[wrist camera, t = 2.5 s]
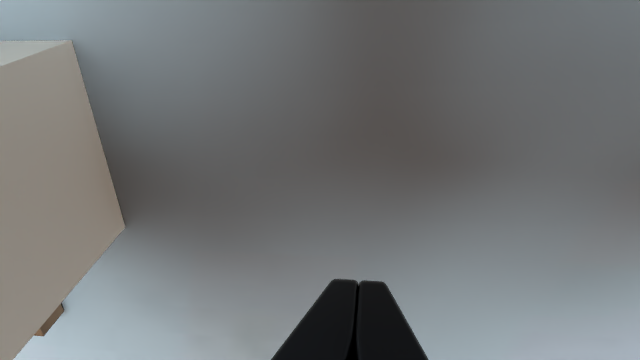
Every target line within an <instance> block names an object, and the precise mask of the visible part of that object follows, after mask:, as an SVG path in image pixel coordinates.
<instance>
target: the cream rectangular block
mask: <svg viewBox="0 0 640 360" xmlns="http://www.w3.org/2000/svg"><path fill="white" fill-rule="evenodd" d="M124 228H125V224H124V221H123V217H122V214H121V210H120V207H119V203H118V200H117V196H116V193H115V189H114V186H113V182H112V179H111V175H110V172H109V168H108V165H107V161H106V158H105V154H104V151H103V148H102V144H101V141H100V137H99V134H98V130H97V127H96V123H95V120H94V116H93V113H92V109H91V106H90V102H89V99H88V95H87V92H86V88H85V85H84V81H83V78H82V74H81V71H80V68H79V64H78V61H77V57H76V54H75V50H74V47H73V43H72V40H39V41H0V360H13V359H14V358H15V357H16V356H17V354H18V353H19V352H20V351H21V350H22V348H23V347H24V346H25V345H26V344H27V343H28V341H29V340H30V339H31V338H32V337H33V336H34V334H35V333H36V332H37V331H38V330H39V328H40V327H41V326H42V325H43V324H44V323H45V321H46V320H47V319H48V318H49V317H50V315H51V314H52V313H53V312H54V311H55V310H56V308H57V307H58V306H59V305H60V304H61V303H62V301H63V300H64V299H65V298H66V297H67V295H68V294H69V293H70V292H71V291H72V290H73V288H74V287H75V286H76V285H77V284H78V283H79V281H80V280H81V279H82V278H83V277H84V275H85V274H86V273H87V272H88V271H89V270H90V268H91V267H92V266H93V265H94V264H95V263H96V261H97V260H98V259H99V258H100V257H101V255H102V254H103V253H104V252H105V251H106V250H107V248H108V247H109V246H110V245H111V244H112V243H113V241H114V240H115V239H116V238H117V237H118V235H119V234H120V233H121V232H122V231H123V230H124Z"/></svg>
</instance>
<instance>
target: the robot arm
mask: <svg viewBox="0 0 640 360" xmlns="http://www.w3.org/2000/svg"><path fill="white" fill-rule="evenodd" d="M271 360H428V358H427V356H426V354H425V352H424V351H423V349H422V347H421V345H420V344H419V342H418V340H417V338H416V336H415V335H414V333H413V331H412V329H411V328H410V326H409V324H408V322H407V320H406V319H405V317H404V315H403V313H402V311H401V310H400V308H399V306H398V304H397V303H396V301H395V299H394V297H393V295H392V294H391V292H390V290H389V288H388V287H387V285H386V284H385V283H384V282H382V281H365V280H363V281H361V282H360V283H359V286H358V282H357V281H356V280H347V279H334V280H332V281H331V282H330V283H329V285H328V286H327V287H326V289H325V290H324V291H323V292H322V294H321V295H320V296H319V298H318V299H317V300H316V302H315V303H314V304H313V306H312V307H311V308H310V309H309V311H308V312H307V313H306V315H305V316H304V317H303V319H302V320H301V321H300V323H299V324H298V325H297V326H296V328H295V329H294V330H293V332H292V333H291V334H290V336H289V337H288V338H287V340H286V341H285V342H284V343H283V345H282V346H281V347H280V349H279V350H278V351H277V353H276V354H275V355H274V357H273V358H272V359H271Z"/></svg>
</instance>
